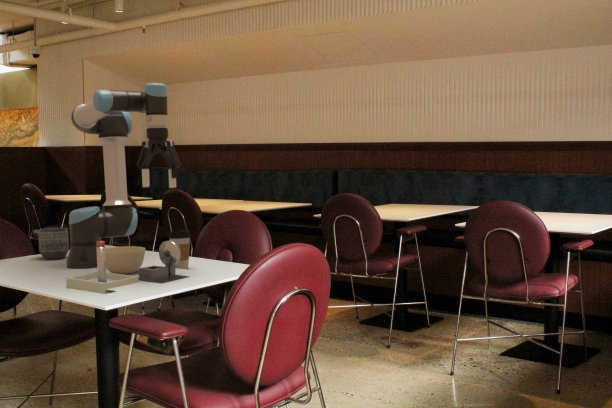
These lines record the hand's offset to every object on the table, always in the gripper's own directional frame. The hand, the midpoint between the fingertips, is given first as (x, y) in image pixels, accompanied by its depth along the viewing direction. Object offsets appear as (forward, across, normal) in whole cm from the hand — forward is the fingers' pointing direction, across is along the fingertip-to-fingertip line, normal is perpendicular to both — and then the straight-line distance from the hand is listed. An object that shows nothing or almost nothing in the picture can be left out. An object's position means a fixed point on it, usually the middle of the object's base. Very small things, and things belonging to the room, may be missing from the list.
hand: (159, 187), depth 243 cm
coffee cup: (+33, -8, +17) cm, 38 cm away
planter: (+33, -76, +9) cm, 83 cm away
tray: (+33, -6, -22) cm, 40 cm away
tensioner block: (+33, +5, -6) cm, 34 cm away
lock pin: (+32, -6, -22) cm, 39 cm away
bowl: (+33, -15, -5) cm, 37 cm away
